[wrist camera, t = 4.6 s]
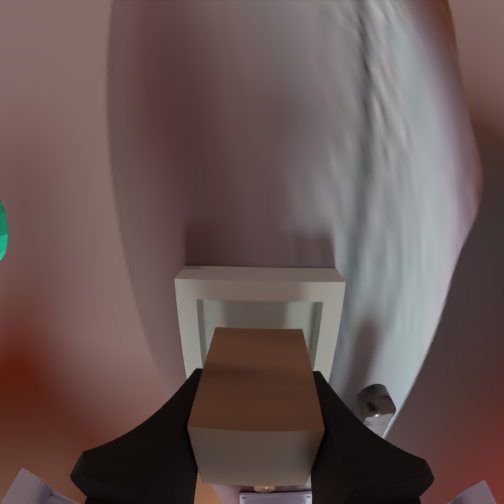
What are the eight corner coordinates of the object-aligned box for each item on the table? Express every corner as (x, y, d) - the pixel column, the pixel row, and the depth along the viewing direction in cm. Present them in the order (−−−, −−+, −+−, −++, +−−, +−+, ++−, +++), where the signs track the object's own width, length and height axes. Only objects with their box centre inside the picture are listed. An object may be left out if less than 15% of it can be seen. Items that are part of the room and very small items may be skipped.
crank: (359, 451, 17) (368, 481, 14) (322, 456, 18) (327, 487, 14) (393, 371, 15) (412, 406, 12) (347, 377, 15) (361, 415, 12)
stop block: (294, 390, 14) (305, 484, 8) (219, 389, 14) (202, 482, 8) (302, 328, 13) (324, 429, 7) (215, 327, 13) (187, 425, 7)
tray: (318, 382, 17) (323, 403, 15) (196, 380, 17) (190, 400, 15) (335, 268, 15) (346, 282, 13) (185, 265, 15) (174, 278, 13)
